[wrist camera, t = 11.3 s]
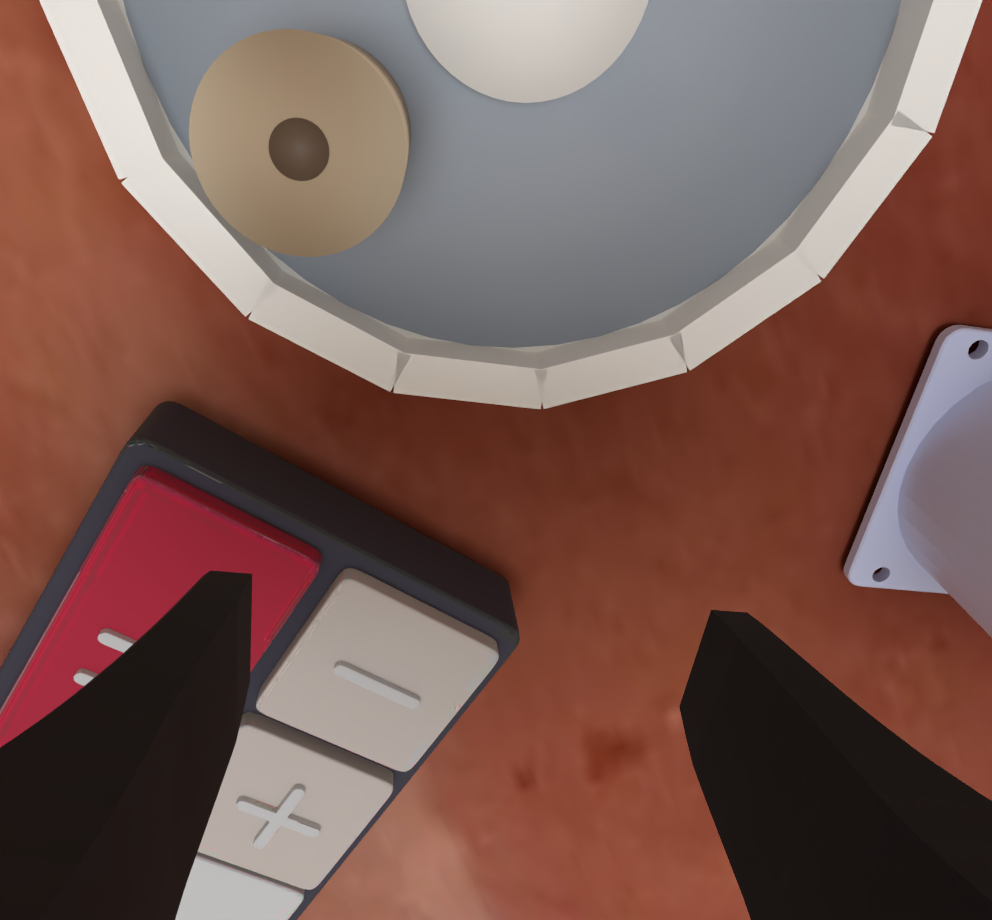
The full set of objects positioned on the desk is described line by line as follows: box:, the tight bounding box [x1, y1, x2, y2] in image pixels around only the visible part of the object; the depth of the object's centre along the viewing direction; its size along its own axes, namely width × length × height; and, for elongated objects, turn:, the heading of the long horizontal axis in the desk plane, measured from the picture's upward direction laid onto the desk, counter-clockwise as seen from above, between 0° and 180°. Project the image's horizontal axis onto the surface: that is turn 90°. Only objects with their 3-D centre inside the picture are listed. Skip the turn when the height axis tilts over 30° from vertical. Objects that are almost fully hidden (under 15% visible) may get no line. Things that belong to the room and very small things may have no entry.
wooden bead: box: [189, 29, 411, 257], centre depth 15 cm, size 4×4×4 cm
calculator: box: [0, 402, 520, 920], centre depth 23 cm, size 11×4×15 cm
